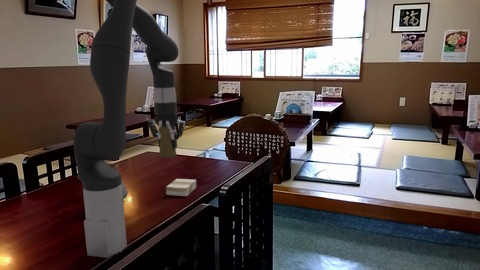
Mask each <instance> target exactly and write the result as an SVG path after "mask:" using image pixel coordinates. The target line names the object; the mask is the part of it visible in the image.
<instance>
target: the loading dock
mask: <svg viewBox="0 0 480 270" xmlns="http://www.w3.org/2000/svg"><path fill="white" fill-rule="evenodd" d="M195 189H197V179H188V178H176V179H174V180H173V181H172V182H171V183H169V184H168V185H167V186H166V187H165V190H166V192H165V193H166V196H167V195H168V196H179V197H180V196H181V197H188V196H189V195H190V194H191V193H192V192H193V191H195Z"/></svg>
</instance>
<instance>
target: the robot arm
mask: <svg viewBox="0 0 480 270" xmlns="http://www.w3.org/2000/svg"><path fill="white" fill-rule="evenodd" d="M105 1H106V2H107V3H108V4H109V5H110V6H111V7H112V8H111V10H110V13H109V14H108V16H107V17H106V19H105V20H104V21H103V23H102V24H101V25H100V27H99V29H97V32H96V33H95V35H94V36H93V39H92V43H91V48H90V49H91V50H90V58H89V59H90V60H89V69H90V74H91V76H92V78H93V81H94V83H95V85H96V87H97V89H98V91H99V94H100V96H101V98H102V103H103V119H102V122H99V121H87V122H83V123H81V124H78V126H77V128H76V129H75V131H74V135H73V151H74V157H75V163H76V170H77V176H78V175H79V176H78V178H79V179H80V181H81V183H82V191H83V202H84V211H85V212H84V213H85V219H84V221H83V225H84V234H85V245H86V253H87V256H88V257H89V256H91V257H99V258H110V257H112V256H114V254H115V255H117V254H119V253H118V252H120V253H121V252H123V251H124V250H125V249H126V248H127V247H128V244H127V243H128V242H127V232H126V229H127V228H126V219H125V209H124V208H125V207H124V200H123V192H122V182H123V180H122V174H121V173H120V171H119V170H118V169H117V170H115V169H113V168H112V167H110V166H109V165H108V164H109V163H107V162H106V161H116V160H118V159H120V157H122V155H123V153H124V150H125V148H126V146H125V145H126V138H127V137H126V136H127V114H126V113H127V111H126V110H127V109H126V108H127V104H126V103H127V88H128V78H129V70H130V59H131V47H132V46H131V44H132V35H133V33H132V32H133V30H134V31H135V33H136V35H137V36H138V38H139V39H140V40H141V42H142V43H143V44H144V45H145V46H146V47H145V56H146V59H147V61H148V64H149V67H150V70H151V74H152V78H153V79H152V80H153V105H154V108H153V109H154V115H155V116H154V119H151V120H149V121H147V125H148V127H149V130H150V132H151V135H152V137H153V138H156V139H157V140H158V148H159V149H160V139H161V134H160V133H159V128H160V127H161V126H163V125H165V126H167V127H168V128H169V127H170V128H169V131H170V132H169V133H170V135H171V139H172V140H171V143H172V148H173V150H174V149H177V148H178V139H179V138H182V136H183V133H184V130H185V126H186V121H185V120H180V119H179V117H178V110H177V109H178V106H177V91H176V88H175V83H176V82H175V73H174V71H173V70H171V69H167V68H164V67H163V66H162V63H172V62H175V61H177V59H178V56H179V54H180V53H179V47H178V45H177V43H176V42H175V41H174V39H173V38H172V37H171V36H170V35H168V34H167V33H166V32H165V31H163V30H162V29H161V26H160V25H159V23H158V21H157V20H156V19H155V17H154V16H153V15H152V14H151V12H149V11H147V10H146V9H145V7H142V6H141V5H139V4H138V3H137V2H138V0H105ZM176 126H177V127H178V128H176ZM157 127H158V129H157ZM173 128H174V130H172V129H173ZM125 247H126V248H125ZM124 248H125V249H124ZM123 249H124V250H123ZM122 250H123V251H122ZM116 253H117V254H116Z"/></svg>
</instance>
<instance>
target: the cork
mask: <svg viewBox="0 0 480 270" xmlns="http://www.w3.org/2000/svg"><path fill="white" fill-rule="evenodd" d="M158 128H159V127H158ZM169 128H170V127H169ZM169 128H168V127H167V126H165V125H163V126H161V127H160V128H159V133H160V134H161V139H160V148H159V155H158V157H159V158H167V159H168V158H174V157H176V156H177V151H176V149H177V148H176V149H174V150H173V148H172V143H171V140H172V139H171V135H170V133H169V132H170V131H169ZM172 130H174V128H173V129H172Z"/></svg>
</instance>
